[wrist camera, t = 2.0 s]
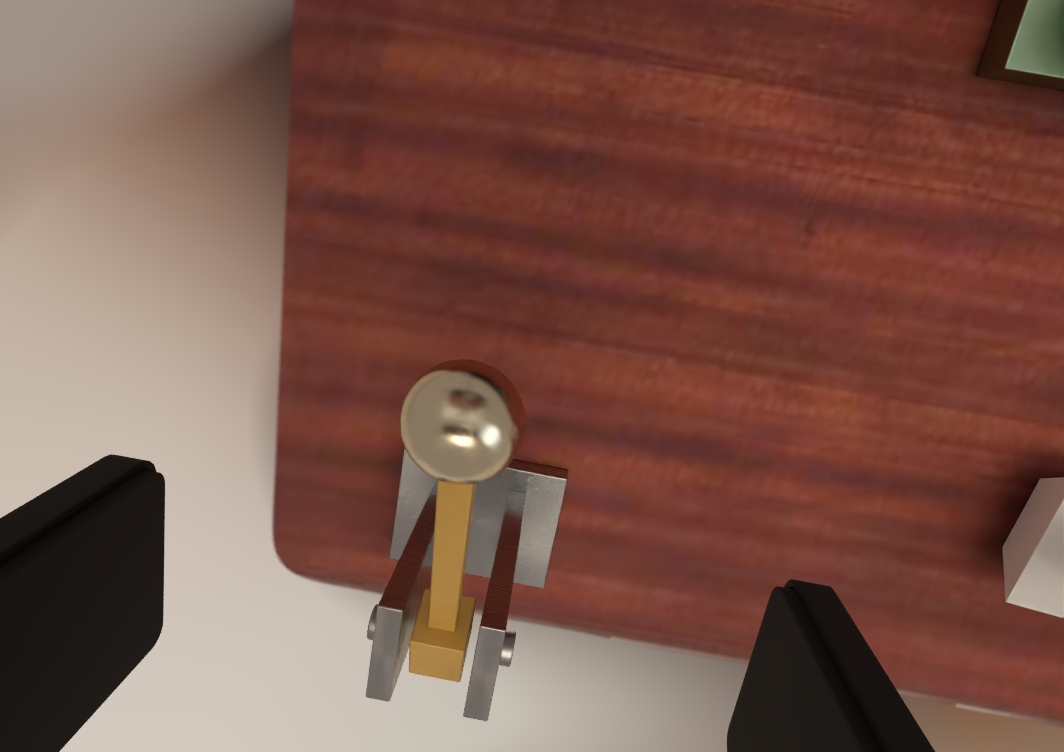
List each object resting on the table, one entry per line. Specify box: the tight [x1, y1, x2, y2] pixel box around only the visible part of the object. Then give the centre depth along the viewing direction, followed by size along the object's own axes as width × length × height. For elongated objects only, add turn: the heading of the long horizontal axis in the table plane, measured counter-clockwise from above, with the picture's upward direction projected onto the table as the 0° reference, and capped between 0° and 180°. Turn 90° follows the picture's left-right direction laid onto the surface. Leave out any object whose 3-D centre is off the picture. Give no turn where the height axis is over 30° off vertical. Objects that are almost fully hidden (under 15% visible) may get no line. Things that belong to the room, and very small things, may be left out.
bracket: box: [366, 448, 568, 721], centre depth 33 cm, size 7×9×13 cm
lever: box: [400, 359, 526, 682], centre depth 24 cm, size 16×4×4 cm, turn 170°
